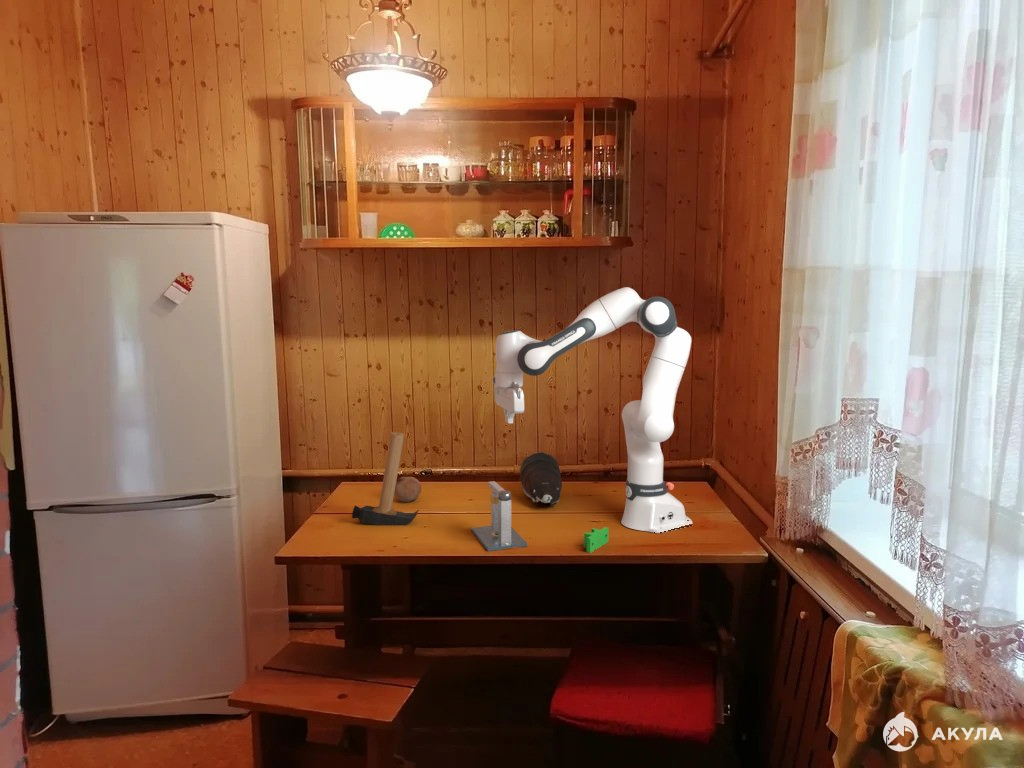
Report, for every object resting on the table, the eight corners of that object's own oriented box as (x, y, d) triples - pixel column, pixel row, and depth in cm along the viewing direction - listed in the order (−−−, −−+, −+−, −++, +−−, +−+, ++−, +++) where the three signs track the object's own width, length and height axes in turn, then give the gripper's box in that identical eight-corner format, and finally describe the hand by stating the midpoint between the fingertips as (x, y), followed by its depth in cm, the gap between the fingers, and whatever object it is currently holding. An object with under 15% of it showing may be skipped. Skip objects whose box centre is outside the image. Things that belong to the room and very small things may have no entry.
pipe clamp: (597, 540, 211) (597, 525, 210) (608, 542, 209) (608, 527, 208) (578, 551, 202) (578, 535, 201) (590, 553, 200) (590, 538, 199)
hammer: (416, 527, 228) (431, 437, 224) (413, 532, 223) (429, 441, 219) (354, 515, 228) (369, 426, 224) (351, 520, 223) (365, 429, 219)
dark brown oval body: (528, 479, 232) (522, 449, 256) (521, 520, 237) (515, 486, 261) (572, 484, 234) (562, 453, 258) (564, 525, 239) (555, 490, 262)
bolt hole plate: (508, 526, 222) (508, 523, 222) (527, 546, 205) (527, 542, 205) (471, 530, 218) (471, 527, 218) (488, 551, 201) (487, 547, 201)
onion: (398, 511, 247) (385, 488, 243) (405, 496, 255) (392, 474, 252) (422, 503, 244) (409, 480, 241) (428, 489, 253) (416, 466, 249)
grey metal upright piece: (497, 527, 218) (497, 480, 216) (512, 543, 205) (512, 493, 202) (486, 528, 217) (485, 481, 215) (500, 544, 203) (500, 494, 201)
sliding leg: (500, 530, 214) (500, 490, 212) (504, 534, 211) (504, 493, 209) (490, 532, 213) (490, 491, 211) (494, 535, 210) (493, 494, 208)
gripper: (529, 384, 218) (529, 428, 220) (508, 376, 238) (508, 416, 240) (510, 385, 216) (510, 429, 218) (490, 377, 236) (491, 417, 238)
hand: (509, 422), depth 229 cm, fingers closed
